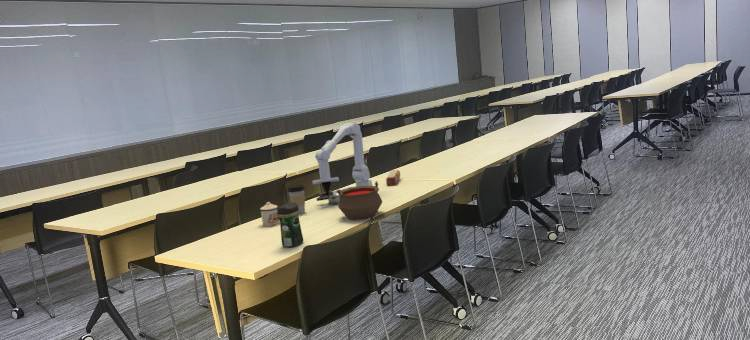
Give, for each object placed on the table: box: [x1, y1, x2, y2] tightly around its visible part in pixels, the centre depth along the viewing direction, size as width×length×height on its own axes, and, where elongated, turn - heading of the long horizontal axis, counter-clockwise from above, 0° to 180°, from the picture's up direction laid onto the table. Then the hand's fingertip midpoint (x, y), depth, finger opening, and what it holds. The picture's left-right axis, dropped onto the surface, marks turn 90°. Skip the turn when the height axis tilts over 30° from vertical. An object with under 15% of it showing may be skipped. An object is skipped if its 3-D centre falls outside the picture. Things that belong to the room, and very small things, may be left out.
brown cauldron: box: [337, 180, 383, 221], centre depth 290 cm, size 24×24×16 cm
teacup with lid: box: [259, 201, 280, 228], centre depth 296 cm, size 12×9×12 cm
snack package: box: [385, 169, 401, 187], centre depth 368 cm, size 21×7×7 cm, turn 170°
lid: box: [318, 189, 340, 198], centre depth 327 cm, size 20×14×4 cm
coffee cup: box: [287, 184, 306, 216], centre depth 312 cm, size 9×9×15 cm
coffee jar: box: [277, 202, 304, 248], centre depth 253 cm, size 10×8×19 cm
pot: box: [315, 196, 340, 206], centre depth 329 cm, size 22×13×4 cm, turn 103°
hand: (327, 195), depth 321 cm, fingers closed
